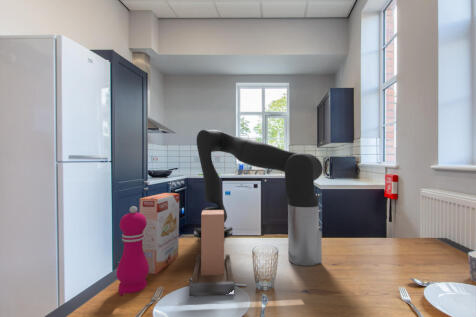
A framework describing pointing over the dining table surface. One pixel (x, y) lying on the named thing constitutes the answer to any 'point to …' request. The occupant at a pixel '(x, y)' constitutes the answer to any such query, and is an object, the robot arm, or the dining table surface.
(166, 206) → the cracker box
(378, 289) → the dining table surface
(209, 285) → the chute
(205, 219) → the block
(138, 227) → the pepper mill
